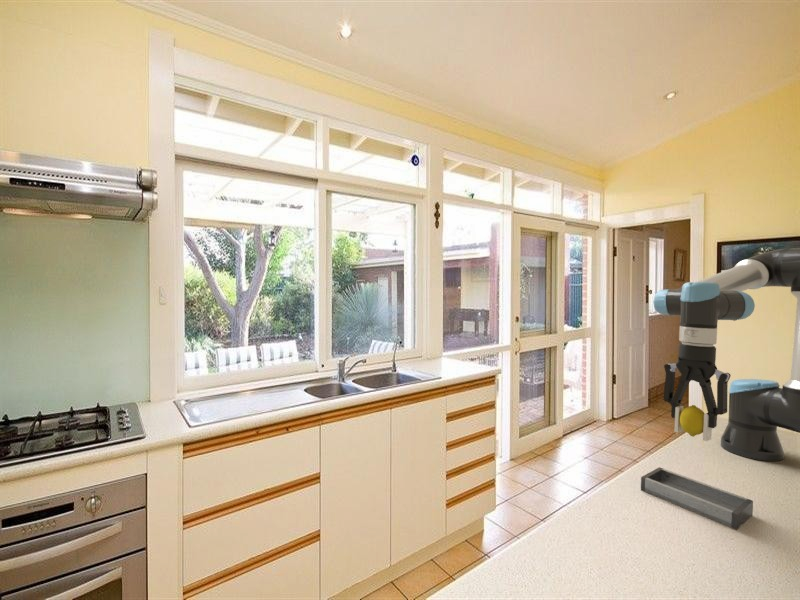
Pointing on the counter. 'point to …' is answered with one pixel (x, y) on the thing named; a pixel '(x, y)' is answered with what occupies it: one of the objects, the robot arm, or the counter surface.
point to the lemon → (692, 420)
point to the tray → (698, 497)
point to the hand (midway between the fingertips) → (692, 435)
